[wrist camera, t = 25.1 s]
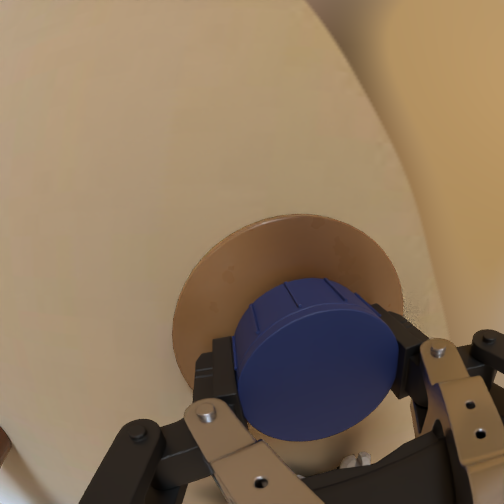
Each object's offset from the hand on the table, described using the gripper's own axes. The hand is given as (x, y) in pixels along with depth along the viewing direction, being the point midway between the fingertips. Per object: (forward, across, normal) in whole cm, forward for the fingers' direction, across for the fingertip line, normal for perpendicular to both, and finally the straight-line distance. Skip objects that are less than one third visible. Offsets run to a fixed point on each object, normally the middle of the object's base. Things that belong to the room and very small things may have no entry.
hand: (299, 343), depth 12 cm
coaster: (+1, 0, 0) cm, 1 cm away
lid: (-3, 0, 0) cm, 3 cm away
